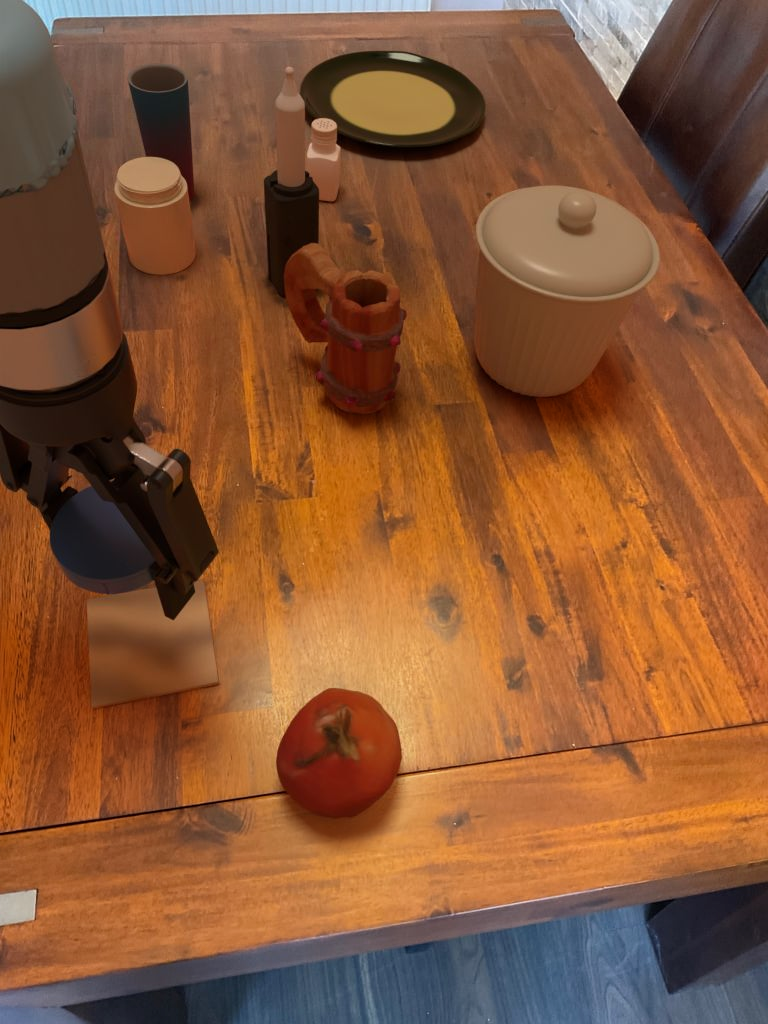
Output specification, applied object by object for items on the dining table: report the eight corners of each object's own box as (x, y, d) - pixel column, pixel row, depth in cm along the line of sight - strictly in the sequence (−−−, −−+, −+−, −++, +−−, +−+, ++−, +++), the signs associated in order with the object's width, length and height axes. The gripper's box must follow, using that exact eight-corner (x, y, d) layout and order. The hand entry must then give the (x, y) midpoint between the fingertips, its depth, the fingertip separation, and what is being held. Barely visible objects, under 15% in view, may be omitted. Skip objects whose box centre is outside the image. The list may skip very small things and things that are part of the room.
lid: (170, 597, 53) (166, 582, 52) (44, 594, 52) (36, 579, 51) (186, 497, 58) (182, 481, 56) (70, 494, 57) (63, 478, 56)
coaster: (87, 601, 69) (86, 598, 69) (204, 581, 71) (204, 578, 71) (92, 709, 64) (91, 706, 63) (219, 684, 66) (218, 681, 65)
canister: (428, 324, 94) (455, 154, 77) (564, 300, 98) (618, 134, 81) (489, 436, 84) (536, 270, 67) (637, 404, 89) (716, 241, 72)
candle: (265, 274, 97) (254, 58, 76) (303, 264, 98) (302, 50, 78) (281, 299, 94) (274, 84, 74) (321, 289, 96) (325, 75, 76)
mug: (415, 399, 86) (433, 286, 74) (364, 439, 82) (374, 326, 70) (318, 332, 91) (320, 215, 79) (266, 366, 88) (259, 250, 75)
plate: (309, 57, 129) (309, 41, 127) (480, 74, 131) (482, 58, 128) (290, 151, 113) (290, 133, 111) (486, 170, 114) (489, 153, 112)
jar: (114, 260, 96) (96, 178, 87) (155, 226, 100) (141, 146, 92) (170, 283, 94) (156, 202, 86) (209, 248, 99) (199, 168, 90)
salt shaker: (339, 187, 109) (342, 118, 101) (335, 203, 106) (338, 134, 99) (310, 183, 109) (310, 114, 101) (305, 200, 106) (305, 130, 99)
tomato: (400, 718, 65) (410, 677, 59) (393, 836, 60) (404, 805, 53) (286, 707, 65) (284, 665, 58) (270, 825, 60) (265, 792, 53)
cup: (192, 213, 103) (177, 96, 90) (140, 205, 103) (118, 86, 91) (207, 184, 107) (195, 68, 94) (157, 176, 107) (138, 59, 95)
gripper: (266, 376, 40) (279, 600, 59) (-55, 238, 45) (50, 486, 63) (178, 476, 36) (222, 683, 55) (-166, 314, 41) (-19, 556, 59)
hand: (130, 578), depth 59 cm, fingers closed on lid, 8 cm apart
